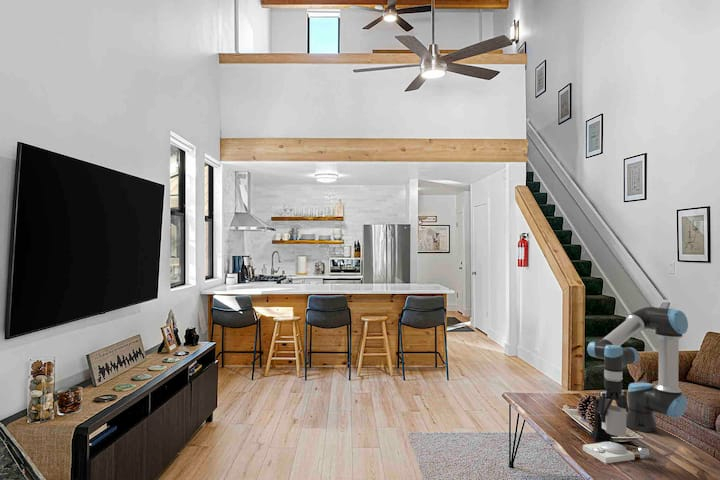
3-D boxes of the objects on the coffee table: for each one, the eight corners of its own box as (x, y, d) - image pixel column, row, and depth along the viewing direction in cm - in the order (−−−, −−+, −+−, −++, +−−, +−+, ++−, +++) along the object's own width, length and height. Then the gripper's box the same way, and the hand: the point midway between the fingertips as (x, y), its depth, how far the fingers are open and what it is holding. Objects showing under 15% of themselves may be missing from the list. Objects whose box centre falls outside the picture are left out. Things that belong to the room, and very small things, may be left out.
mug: (630, 434, 216) (630, 410, 216) (617, 437, 212) (617, 412, 213) (607, 425, 227) (607, 402, 227) (594, 427, 223) (594, 404, 224)
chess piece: (612, 442, 233) (612, 401, 233) (594, 441, 234) (595, 400, 235) (607, 436, 240) (607, 396, 241) (590, 435, 242) (590, 395, 242)
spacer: (643, 454, 220) (643, 446, 220) (651, 458, 216) (651, 450, 216) (635, 455, 219) (635, 447, 219) (643, 459, 214) (643, 451, 214)
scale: (610, 446, 228) (610, 439, 228) (634, 459, 214) (634, 451, 214) (582, 450, 224) (582, 442, 224) (605, 463, 210) (605, 455, 210)
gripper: (625, 375, 227) (624, 423, 226) (588, 378, 221) (587, 427, 220) (638, 380, 219) (637, 429, 219) (600, 382, 214) (600, 433, 213)
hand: (612, 428), depth 220 cm, fingers closed on mug, 8 cm apart
